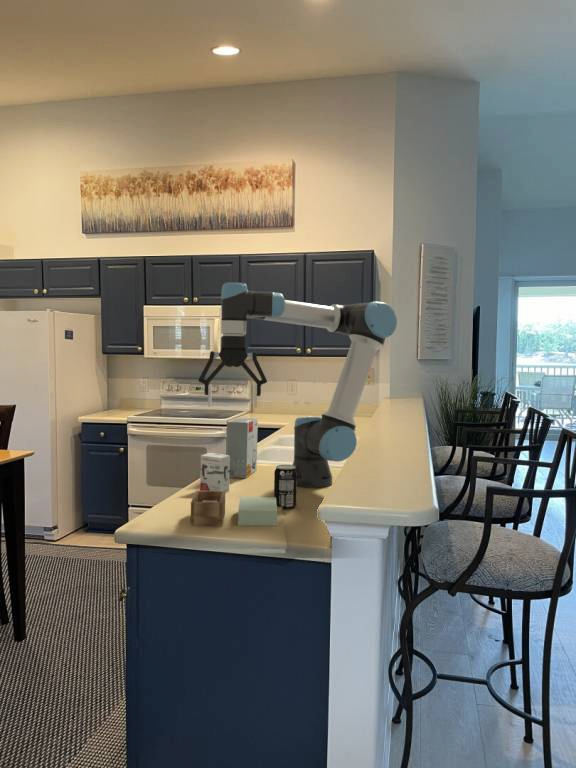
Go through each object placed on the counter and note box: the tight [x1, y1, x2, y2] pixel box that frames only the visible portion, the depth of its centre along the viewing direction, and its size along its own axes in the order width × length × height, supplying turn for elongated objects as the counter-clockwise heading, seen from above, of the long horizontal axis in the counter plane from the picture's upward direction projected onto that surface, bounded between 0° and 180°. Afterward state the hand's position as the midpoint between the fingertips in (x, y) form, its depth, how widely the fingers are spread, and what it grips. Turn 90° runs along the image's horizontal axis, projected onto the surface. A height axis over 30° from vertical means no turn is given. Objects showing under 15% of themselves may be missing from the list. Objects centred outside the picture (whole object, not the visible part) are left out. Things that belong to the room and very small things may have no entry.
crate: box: [190, 490, 226, 528], centre depth 166 cm, size 8×13×7 cm, turn 3°
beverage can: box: [273, 464, 298, 510], centre depth 183 cm, size 7×7×12 cm
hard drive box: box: [226, 417, 259, 479], centre depth 228 cm, size 16×8×20 cm, turn 168°
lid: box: [237, 496, 278, 527], centre depth 168 cm, size 10×14×5 cm
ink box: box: [199, 452, 230, 493], centre depth 201 cm, size 9×5×12 cm, turn 62°
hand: (232, 406), depth 187 cm, fingers open, 13 cm apart
